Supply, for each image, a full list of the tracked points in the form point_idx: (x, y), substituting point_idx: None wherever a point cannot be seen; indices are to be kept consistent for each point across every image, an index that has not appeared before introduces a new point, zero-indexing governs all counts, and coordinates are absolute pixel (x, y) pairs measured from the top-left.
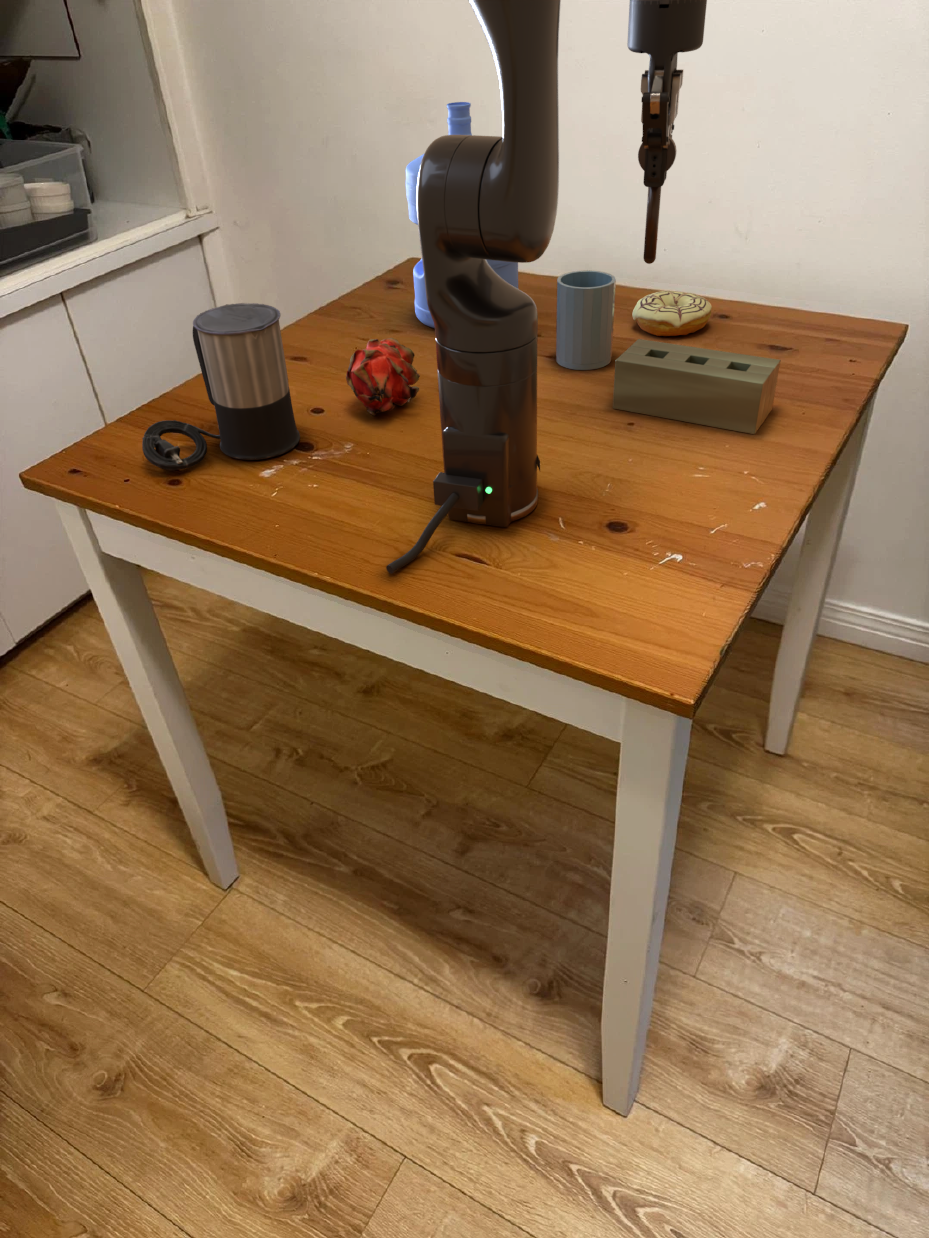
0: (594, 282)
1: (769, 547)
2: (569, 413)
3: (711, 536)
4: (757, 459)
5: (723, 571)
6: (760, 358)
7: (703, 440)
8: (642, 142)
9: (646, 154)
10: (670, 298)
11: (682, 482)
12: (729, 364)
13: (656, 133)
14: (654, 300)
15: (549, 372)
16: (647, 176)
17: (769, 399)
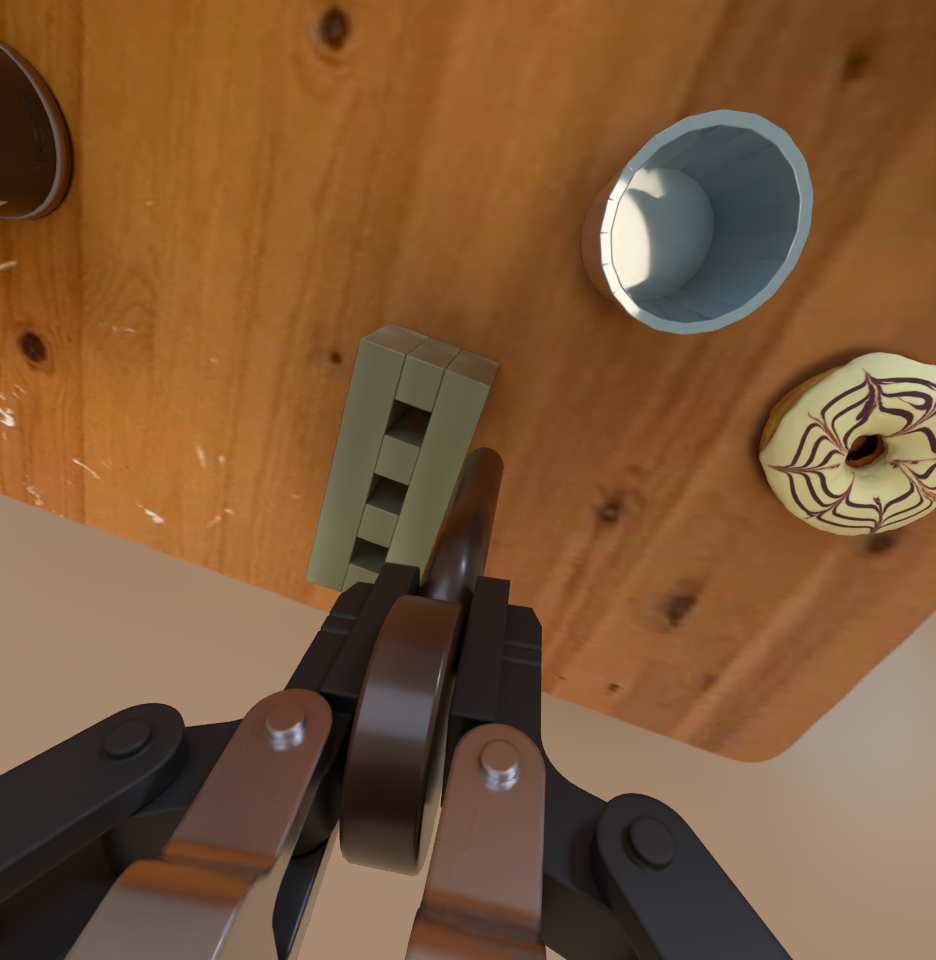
0: (772, 256)
1: (74, 515)
2: (358, 235)
3: (67, 460)
4: (268, 528)
5: (8, 466)
6: None
7: (305, 467)
8: (393, 707)
9: (334, 672)
10: (914, 453)
11: (175, 433)
12: (375, 543)
13: (107, 851)
14: (892, 415)
15: (570, 155)
16: (338, 601)
17: None
